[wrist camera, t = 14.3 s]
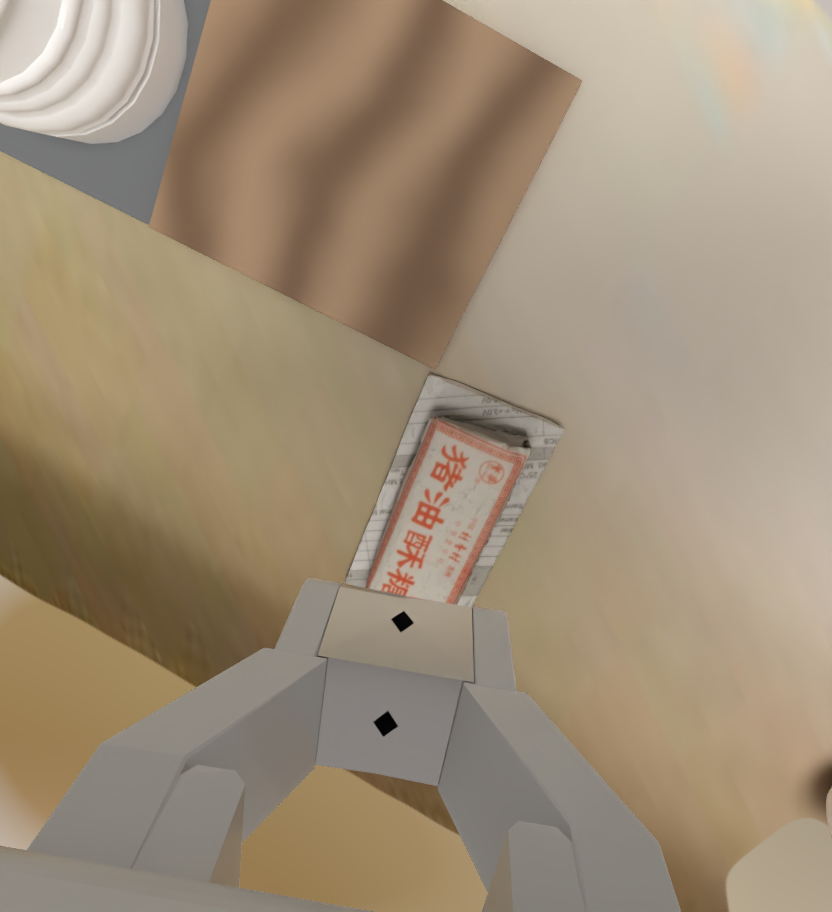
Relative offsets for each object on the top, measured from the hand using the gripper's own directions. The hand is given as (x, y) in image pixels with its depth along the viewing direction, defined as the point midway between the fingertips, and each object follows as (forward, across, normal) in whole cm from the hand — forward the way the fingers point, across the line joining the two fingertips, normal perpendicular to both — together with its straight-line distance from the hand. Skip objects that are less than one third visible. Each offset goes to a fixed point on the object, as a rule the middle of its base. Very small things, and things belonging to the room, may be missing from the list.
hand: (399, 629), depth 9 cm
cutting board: (+31, +7, -8) cm, 33 cm away
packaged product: (+32, -2, +14) cm, 35 cm away
